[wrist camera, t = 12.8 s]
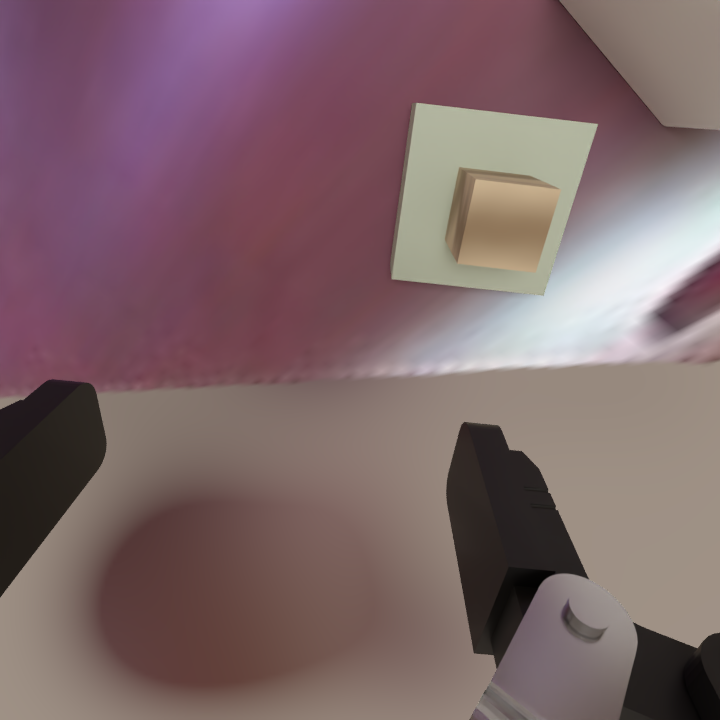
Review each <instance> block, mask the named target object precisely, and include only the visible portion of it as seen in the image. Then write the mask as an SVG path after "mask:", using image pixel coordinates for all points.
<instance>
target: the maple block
mask: <svg viewBox="0 0 720 720" xmlns="http://www.w3.org/2000/svg"><path fill="white" fill-rule="evenodd" d="M560 192H561V189H559V188H557V187H555V186H552V185H550V184H548V183H546V182H543V181H541V180H539V179H537V178H534V177H532V176H529V175H521V174H512V173H504V172H496V171H488V170H479V169H471V168H463V167H459V170H458V175H457V180H456V185H455V190H454V195H453V200H452V205H451V210H450V215H449V220H448V225H447V230H446V235H445V241H446V243H447V245H448V247H449V249H450V251H451V253H452V255H453V256H454V258H455V260H456V262H457V264H464V265H473V266H481V267H490V268H499V269H507V270H516V271H525V272H533V273H536V270H537V267H538V264H539V260H540V257H541V254H542V251H543V247H544V244H545V241H546V238H547V234H548V231H549V228H550V225H551V221H552V218H553V215H554V212H555V208H556V205H557V202H558V199H559V195H560Z"/></svg>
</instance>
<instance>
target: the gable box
mask: <svg viewBox="0 0 720 720" xmlns="http://www.w3.org/2000/svg"><path fill="white" fill-rule="evenodd" d="M559 1H560V2H561V3H562V5H563V6H564V7H565V8H566V9H567V11H568V12H569V13H570V14H571V15H572V17H573V18H574V19H575V20H576V21H577V23H578V24H579V25H580V26H581V27H582V29H583V30H584V31H585V32H586V33H587V35H588V36H589V37H590V38H591V40H592V41H593V42H594V43H595V44H596V46H597V47H598V48H599V49H600V50H601V52H602V53H603V54H604V55H605V56H606V58H607V59H608V60H609V61H610V62H611V64H612V65H613V66H614V67H615V68H616V70H617V71H618V72H619V73H620V74H621V76H622V77H623V78H624V79H625V81H626V82H627V83H628V84H629V85H630V87H631V88H632V89H633V90H634V91H635V93H636V94H637V95H638V96H639V97H640V99H641V100H642V101H643V102H644V103H645V105H646V106H647V107H648V108H649V109H650V111H651V112H652V113H653V114H654V115H655V117H656V118H657V119H658V120H659V121H660V123H661V124H662V125H665V126H668V127H682V128H697V129H711V130H720V0H559Z"/></svg>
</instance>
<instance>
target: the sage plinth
mask: <svg viewBox="0 0 720 720" xmlns="http://www.w3.org/2000/svg"><path fill="white" fill-rule="evenodd" d="M597 125H598V124H593V123H584V122H575V121H567V120H558V119H550V118H541V117H533V116H524V115H516V114H507V113H498V112H490V111H481V110H473V109H464V108H456V107H447V106H438V105H430V104H421V103H412V108H411V115H410V123H409V130H408V137H407V144H406V152H405V159H404V166H403V174H402V181H401V188H400V195H399V203H398V210H397V217H396V225H395V232H394V239H393V246H392V254H391V261H390V268H391V279H395V280H404V281H413V282H423V283H432V284H441V285H450V286H460V287H469V288H478V289H487V290H497V291H506V292H515V293H524V294H534V295H543V296H544V292H545V289H546V286H547V283H548V280H549V277H550V274H551V270H552V267H553V264H554V261H555V258H556V255H557V251H558V248H559V245H560V242H561V239H562V236H563V233H564V229H565V226H566V223H567V220H568V217H569V214H570V210H571V207H572V204H573V201H574V198H575V195H576V192H577V188H578V185H579V182H580V179H581V176H582V173H583V170H584V166H585V163H586V160H587V157H588V154H589V151H590V147H591V144H592V141H593V138H594V135H595V132H596V129H597ZM459 167H463V168H471V169H479V170H488V171H496V172H504V173H512V174H521V175H529V176H532V177H534V178H537V179H539V180H541V181H543V182H546V183H548V184H550V185H552V186H555V187H557V188H559V189H561V192H560V195H559V199H558V202H557V205H556V208H555V212H554V215H553V218H552V221H551V225H550V228H549V231H548V234H547V238H546V241H545V244H544V247H543V251H542V254H541V257H540V260H539V264H538V267H537V270H536V273H533V272H525V271H516V270H507V269H499V268H490V267H481V266H473V265H464V264H457V262H456V260H455V258H454V256H453V255H452V253H451V251H450V249H449V247H448V245H447V243H446V241H445V235H446V230H447V225H448V220H449V215H450V210H451V205H452V200H453V195H454V190H455V185H456V180H457V175H458V170H459Z"/></svg>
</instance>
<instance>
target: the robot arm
mask: <svg viewBox="0 0 720 720" xmlns="http://www.w3.org/2000/svg"><path fill="white" fill-rule="evenodd" d="M105 452H106V436H105V431H104V427H103V423H102V418H101V413H100V408H99V404H98V399H97V394H96V391H95V389H94V387H93V386H92V385H91V384H90V383H84V382H74V381H64V380H54V379H52V380H48V381H46V382H45V383H43V384H42V385H41V386H40V387H39V388H37V389H36V390H35V391H34V392H33V393H31V394H30V395H29V396H28V397H27V398H25V399H24V400H19V401H17V402H15V403H13V404H11V405H9V406H7V407H5V408H3V409H0V597H1V596H2V594H3V593H4V592H5V590H6V589H7V588H8V586H9V585H10V584H11V583H12V581H13V580H14V579H15V577H16V576H17V575H18V573H19V572H20V571H21V570H22V568H23V567H24V566H25V564H26V563H27V562H28V560H29V559H30V558H31V556H32V555H33V554H34V553H35V551H36V550H37V549H38V547H39V546H40V545H41V543H42V542H43V541H44V539H45V538H46V537H47V536H48V534H49V533H50V531H51V530H52V529H53V528H54V526H55V525H56V524H57V523H58V521H59V520H60V518H61V517H62V516H63V515H64V513H65V512H66V511H67V509H68V508H69V507H70V506H71V504H72V503H73V502H74V500H75V499H76V498H77V496H78V495H79V494H80V492H81V491H82V490H83V489H84V487H85V486H86V485H87V483H88V482H89V481H90V479H91V478H92V477H93V476H94V474H95V473H96V472H97V470H98V469H99V467H100V466H101V464H102V462H103V459H104V456H105ZM446 492H447V493H446V494H447V495H446V496H447V505H448V511H449V516H450V522H451V528H452V533H453V539H454V545H455V550H456V556H457V561H458V567H459V572H460V578H461V583H462V589H463V594H464V600H465V606H466V612H467V617H468V623H469V628H470V634H471V639H472V645H473V651H474V653H477V654H488V655H494V658H495V663H496V668H497V670H496V672H495V674H494V676H493V678H492V680H491V682H490V684H489V686H488V687H487V689H486V690H485V692H484V693H483V695H482V697H481V699H480V701H479V703H478V704H477V706H476V708H475V710H474V712H473V714H472V716H471V718H470V720H720V633H716V634H712V635H710V636H708V637H707V638H706V639H705V640H704V641H703V642H702V643H701V645H700V646H699V647H698V648H695V647H692V646H690V645H687V644H685V643H682V642H679V641H677V640H674V639H672V638H669V637H667V636H664V635H661V634H659V633H656V632H654V631H651V630H649V629H646V628H644V627H641V626H639V625H637V624H636V623H634V622H632V620H631V618H630V616H629V614H628V613H627V611H626V610H625V609H624V607H623V606H622V605H621V604H620V602H619V601H617V599H616V598H615V597H614V596H613V595H611V594H610V593H609V592H608V591H607V590H605V589H604V588H603V587H601V586H600V585H598V584H596V583H594V582H593V581H591V580H589V578H588V577H587V574H586V572H585V570H584V568H583V565H582V564H581V561H580V559H579V557H578V554H577V552H576V550H575V548H574V545H573V543H572V541H571V539H570V537H569V534H568V532H567V530H566V528H565V525H564V523H563V521H562V519H561V517H560V515H559V512H558V510H556V509H555V507H556V505H555V503H554V501H553V499H552V497H551V494H550V493H548V488H547V485H546V483H545V481H544V479H543V477H542V474H541V472H540V470H539V468H538V467H537V466H536V465H535V464H534V463H533V462H532V461H531V460H530V459H529V458H528V457H527V456H526V455H525V454H524V453H523V452H522V451H513V450H509V448H508V445H507V443H506V440H505V438H504V435H503V433H502V430H501V428H500V427H499V426H498V425H487V424H478V423H468V422H464V423H463V424H462V425H461V428H460V431H459V435H458V439H457V443H456V446H455V450H454V454H453V458H452V462H451V466H450V469H449V473H448V478H447V490H446Z"/></svg>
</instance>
